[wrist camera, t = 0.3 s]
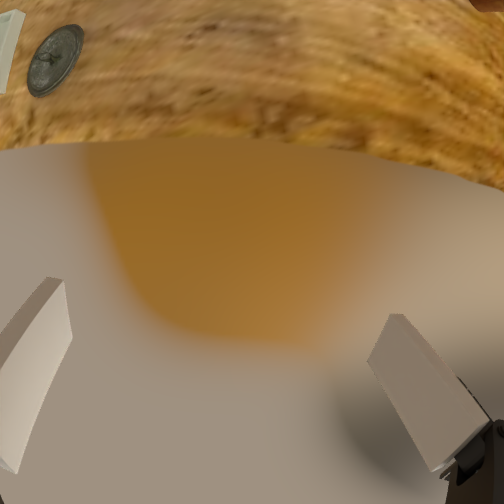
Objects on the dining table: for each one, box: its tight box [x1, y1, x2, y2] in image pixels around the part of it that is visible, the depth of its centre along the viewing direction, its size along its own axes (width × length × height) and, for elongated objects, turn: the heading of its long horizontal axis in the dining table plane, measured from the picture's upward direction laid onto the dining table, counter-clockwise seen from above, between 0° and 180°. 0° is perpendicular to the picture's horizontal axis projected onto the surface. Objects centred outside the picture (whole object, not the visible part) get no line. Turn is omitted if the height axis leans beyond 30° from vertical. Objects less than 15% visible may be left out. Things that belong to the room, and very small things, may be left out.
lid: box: [27, 24, 84, 98], centre depth 24 cm, size 11×10×5 cm
